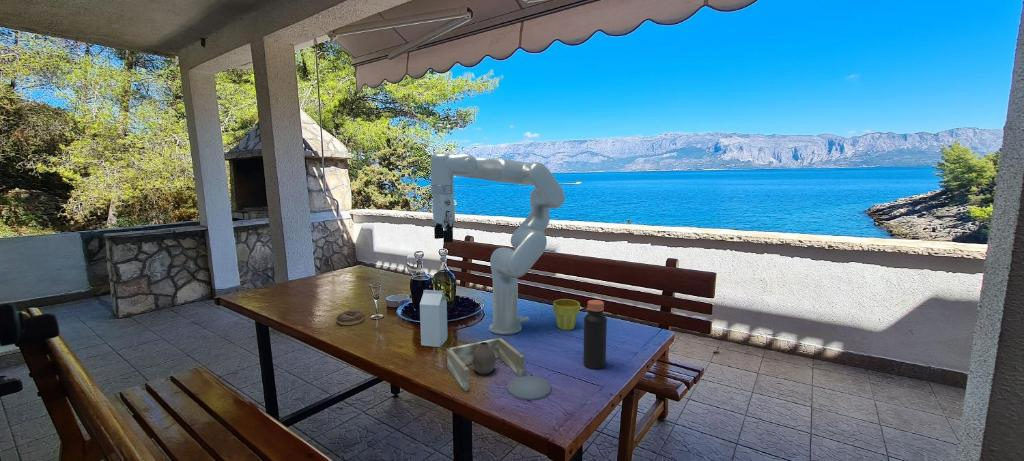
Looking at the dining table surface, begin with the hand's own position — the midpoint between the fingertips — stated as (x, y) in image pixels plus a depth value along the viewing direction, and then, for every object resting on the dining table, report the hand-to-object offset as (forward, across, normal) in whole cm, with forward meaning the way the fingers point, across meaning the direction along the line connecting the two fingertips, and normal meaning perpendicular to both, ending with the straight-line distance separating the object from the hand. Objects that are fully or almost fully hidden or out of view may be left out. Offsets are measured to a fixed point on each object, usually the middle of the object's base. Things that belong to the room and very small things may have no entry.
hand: (443, 240), depth 140 cm
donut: (+37, +38, +27) cm, 60 cm away
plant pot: (+36, -9, -46) cm, 59 cm away
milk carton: (+37, +1, +4) cm, 37 cm away
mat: (+36, -43, -9) cm, 57 cm away
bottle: (+36, -40, -34) cm, 64 cm away
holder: (+36, -28, -2) cm, 46 cm away
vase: (+37, -28, -2) cm, 46 cm away
